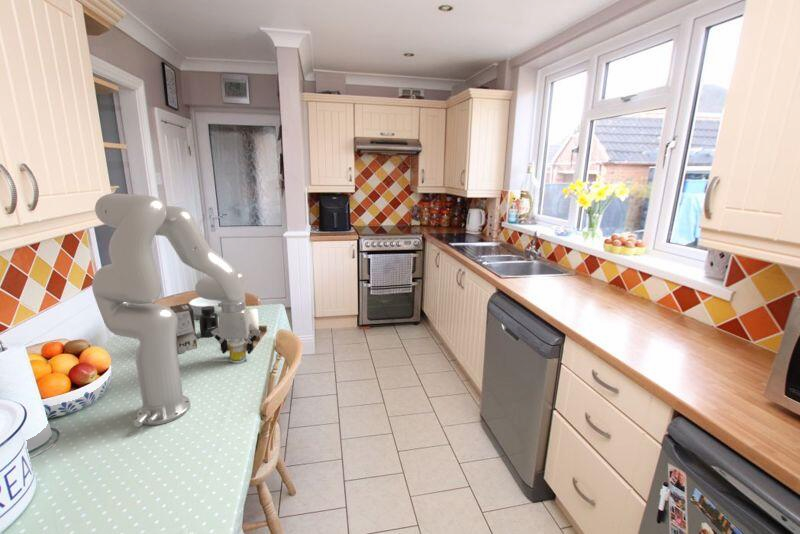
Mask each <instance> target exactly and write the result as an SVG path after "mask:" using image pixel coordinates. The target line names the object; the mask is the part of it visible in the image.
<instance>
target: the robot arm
mask: <svg viewBox="0 0 800 534" xmlns="http://www.w3.org/2000/svg"><path fill="white" fill-rule="evenodd" d="M94 210H95V211H94V212H95V215H96V217H97V218H98V220H99V221H100V222H101V223H103V224H104V225H106V226H107V227H111V228H115V230H114V231H113V234H112V236H111V237H110V241H109V243H108V254H109V258H110V261H111V263H110V264H109V263H108V264H106V265H104V266H102V267H100V268H99V269H98V270H97V271H96V272H95V274H94V276H93V278H92V281H91V283H92V284H91V287H92V288H91V289H92V293H93V296H94V299H95V302H96V304H97V307H98V310H99V312H100V315H101V318H102V320H103V323H104V325H105V327H106V328H107V329H108V331H110V333H112V334H113V335H115V336H120V337H125V338H130V339H135V340H138V341H139V345H138V348H137V349H136V351H135V357H134V359H135V365H136V371H137V377H138V383H139V389H140V398H141V401H142V402H141V403H142V406H141V407H140V408H139V410H138V411H137V414H136V417H137V418H136V419H135V420H134V422H133V425H134V426H135V427H137V428H138V427H141V426H142V425H148V426H155V425H162V424H166V423H170V422H172V421H174V420H176V419H179V418H180V417H181V416H183V415H184V414H186V412H187V411H189V409H190V407H191V401H190V398H189V397H188V396H185V395H183V387H182V386H183V385H182V378H181V372H180V371H181V369H180V364H179V361H180V360H179V355H178V354H179V353H178V350H177V344H176V335H177V327H178V319H177V316H176V314H175V312H174V311H173V310H171V309H170V307H167V306H165V305H162V304H157V303H156V304H155V303H153V302H155V301H156V300H158V299H159V298H160V296H161V294H162V282H161V280H160V276H159V272H158V269H157V265H156V263H155V259H154V255H153V251H152V250H153V248H152V243H153V240H154V237H155V236H159V237H160V236H161V237H165V238H166V239H167V241H168V242H169V243H170V245H171V246H172V248H173V250H174V251H175V253H176V255H177V257H178V258H179V260H180V261H181V262H182V263H183V264H185V266H186V265H187V266H188V267H190V268H191V269H194V270H196V271H199V272H201V273H203V274H205V275H207V276H204V277H202V278H200V279H199V280H197V282H196V284H195V289H194V290H195V293H196V295H197V296H198V297H201V298H204V299H209V300H218V301H221V303H218V307H221V308H222V310H221V311H220V313H219V315H218V327H217V328H215V329H213V330H212V331H211V333H212V334H213V336H214V339H216V340H217V341H218V343H219V345H220V350H221V353H222V354H224V355H225V354H226V352H228V351H229V350H228V345H227V342H228V340H229V339H246V340H247V342H248V344H247V351H246V352H247V354H248V355H250V354H251V353H252V352H253V351H254V350H255V348H254V346H253V341H254V340H255V339H256V338H257V337H258V335H259V334H260V332H261V331H260V330H258V329H257V328H255V327H253V326H252V325H251V319H250V315H249V312H248V309H249V308H246V307H247V306H246V296H245V295H246V293H245V281H244V279H245V278H244V277H245V276H244V274H243V273H242V272H241V271H239V270H236V269H235V268H234V266H233V265H231V263H229V262H228V261H227V260H226V259H225V258H223V257H222V256H221V255H220V254H218V252H216V251H214V250H213V249H212V248H211V247H210V245H209V244H208V242H207V240H206V238H205V237H204V235H203V233H202V231H201V229H200V227H199V225H198V223H197V222H196V220H195V217H194V216H193V215H192V213H191V212H190V211H189V210H188V209H186V208H183V207H181V206H174V205H165V203H164V202H163V201H162V200H161V199H160V198H157V197H155V196H152V195H147V194H133V193H131V194H130V193H107V194H105V195H102V196H100V197H99V198H98V199H97V200H96V203H95V205H94ZM217 331H219V334H218V332H217ZM252 332H254V333H255V335H254V336H252V335H251V333H252Z"/></svg>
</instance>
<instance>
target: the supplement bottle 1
mask: <svg viewBox="0 0 800 534" xmlns="http://www.w3.org/2000/svg"><path fill="white" fill-rule="evenodd" d="M201 313H202V314H201V315H198V321H199V322H198V323H199V333H200V337H201V338H206V339H207V338H208V339H209V338H213V337H214V338H215V336H213V334H212V333H211V331H212V330H213V329H215V328H217V327H218V326H219V315H217V314H216V313H215V309H214V307H213V306H206V307H202V308H201ZM217 332H218V334H219V331H217Z"/></svg>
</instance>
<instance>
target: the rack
mask: <svg viewBox="0 0 800 534" xmlns="http://www.w3.org/2000/svg"><path fill="white" fill-rule="evenodd" d="M259 330H260V331H261V332H260V334H259V335H258V337H257V338H256V339H255V340H254V341H253V346H254V349H255V348H256V347H257V346H258V344H259V343H260V341H261V340H262V339H263V337H264V336H265V335H266V333H268V326H267V325H259ZM251 335H252V336H254V335H255V334H251ZM244 340H245V349H246V352H247V344H248V342H247V340H246V339H244ZM230 341H231V339H227V345H228V350H227V351H229V342H230Z"/></svg>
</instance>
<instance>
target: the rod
mask: <svg viewBox="0 0 800 534" xmlns="http://www.w3.org/2000/svg"><path fill="white" fill-rule="evenodd" d="M247 309H248V312H249V315H250V319H251V325H252V326H253V327H255V328H257V329H258V330H259V326H260V323H259V314H258V313H259V311H258V308H256V307H255V308H254V307H252V308H247ZM251 334H255V333H254V332H252V333H251Z"/></svg>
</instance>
